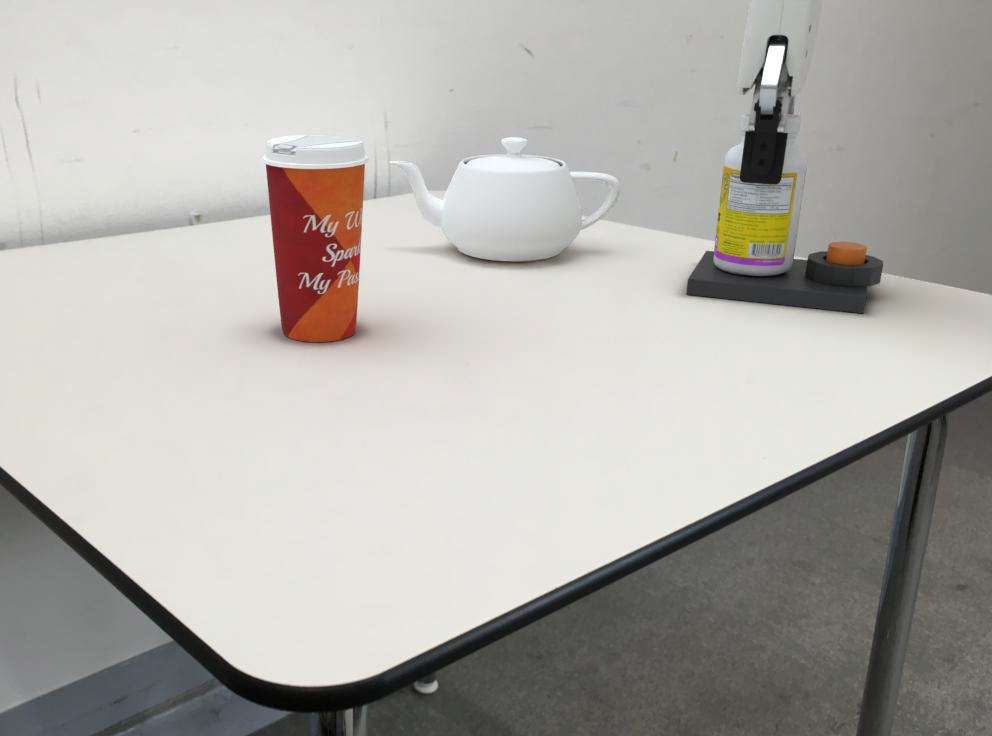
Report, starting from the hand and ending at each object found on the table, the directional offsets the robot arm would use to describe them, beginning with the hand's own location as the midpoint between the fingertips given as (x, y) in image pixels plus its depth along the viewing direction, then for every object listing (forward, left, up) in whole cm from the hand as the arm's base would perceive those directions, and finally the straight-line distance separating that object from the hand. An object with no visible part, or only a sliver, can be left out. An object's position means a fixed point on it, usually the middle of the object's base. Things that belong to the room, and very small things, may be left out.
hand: (764, 173), depth 92 cm
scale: (-2, 0, -10) cm, 10 cm away
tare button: (-7, 0, -7) cm, 10 cm away
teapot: (+24, -3, -10) cm, 26 cm away
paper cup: (+29, +27, -10) cm, 41 cm away
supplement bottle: (0, 0, -8) cm, 8 cm away
